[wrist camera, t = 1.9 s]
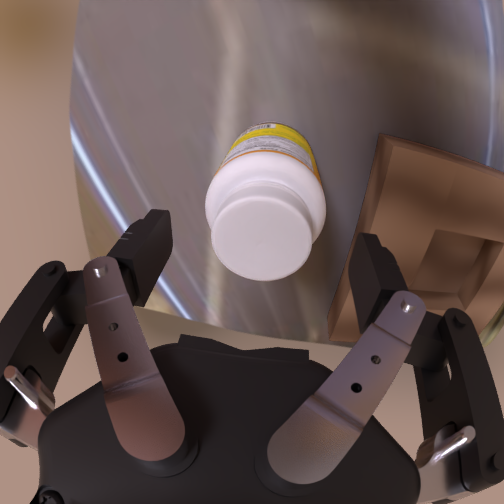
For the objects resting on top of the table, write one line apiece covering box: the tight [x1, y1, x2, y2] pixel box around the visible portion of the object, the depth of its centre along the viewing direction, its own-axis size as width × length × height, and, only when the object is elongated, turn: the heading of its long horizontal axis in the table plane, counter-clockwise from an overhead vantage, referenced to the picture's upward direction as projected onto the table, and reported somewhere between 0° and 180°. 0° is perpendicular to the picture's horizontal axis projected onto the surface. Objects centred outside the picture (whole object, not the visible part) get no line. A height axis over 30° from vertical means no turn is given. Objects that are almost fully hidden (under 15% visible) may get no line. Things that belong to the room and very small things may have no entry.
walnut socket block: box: [327, 133, 504, 342], centre depth 21 cm, size 18×18×3 cm
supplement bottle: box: [205, 122, 326, 281], centre depth 15 cm, size 6×6×10 cm
